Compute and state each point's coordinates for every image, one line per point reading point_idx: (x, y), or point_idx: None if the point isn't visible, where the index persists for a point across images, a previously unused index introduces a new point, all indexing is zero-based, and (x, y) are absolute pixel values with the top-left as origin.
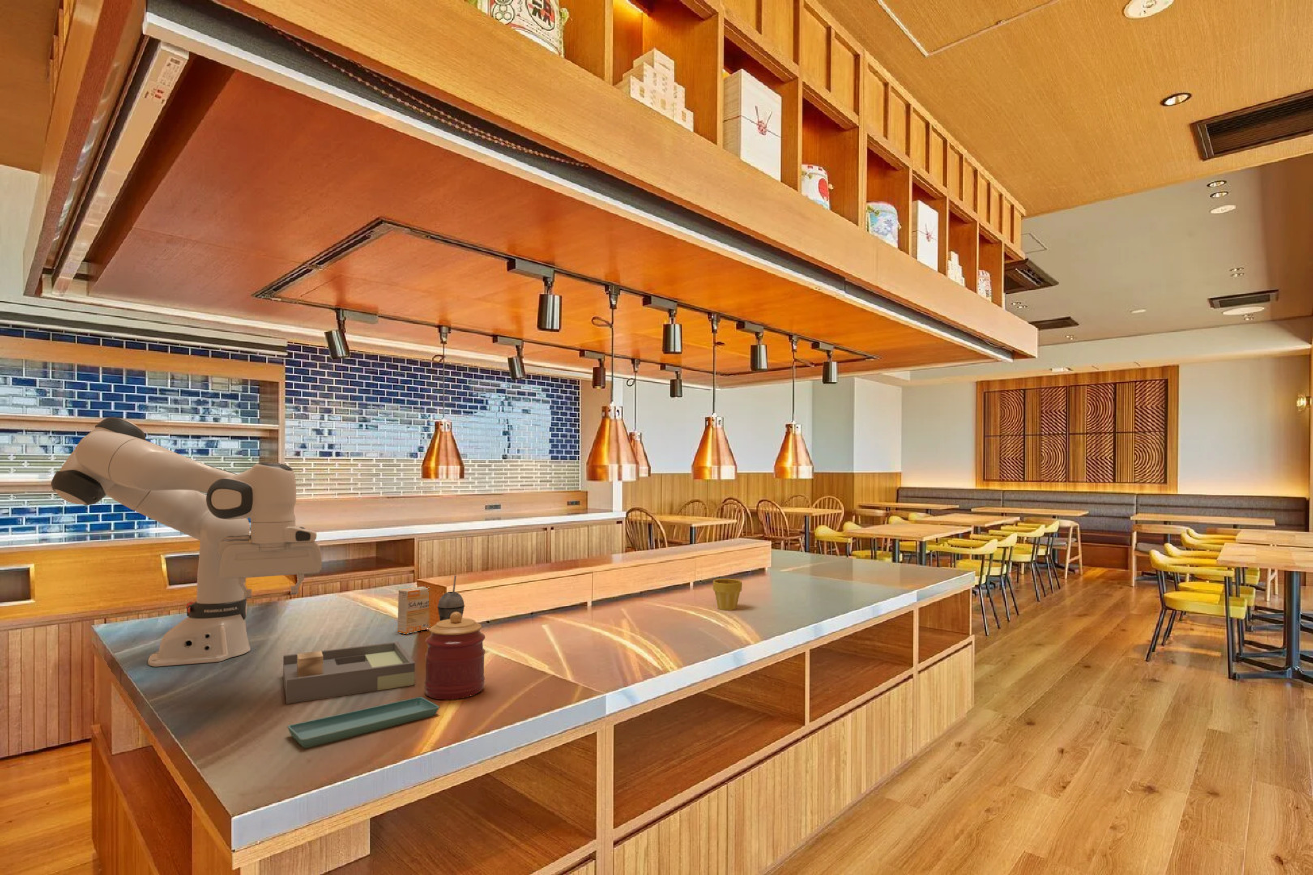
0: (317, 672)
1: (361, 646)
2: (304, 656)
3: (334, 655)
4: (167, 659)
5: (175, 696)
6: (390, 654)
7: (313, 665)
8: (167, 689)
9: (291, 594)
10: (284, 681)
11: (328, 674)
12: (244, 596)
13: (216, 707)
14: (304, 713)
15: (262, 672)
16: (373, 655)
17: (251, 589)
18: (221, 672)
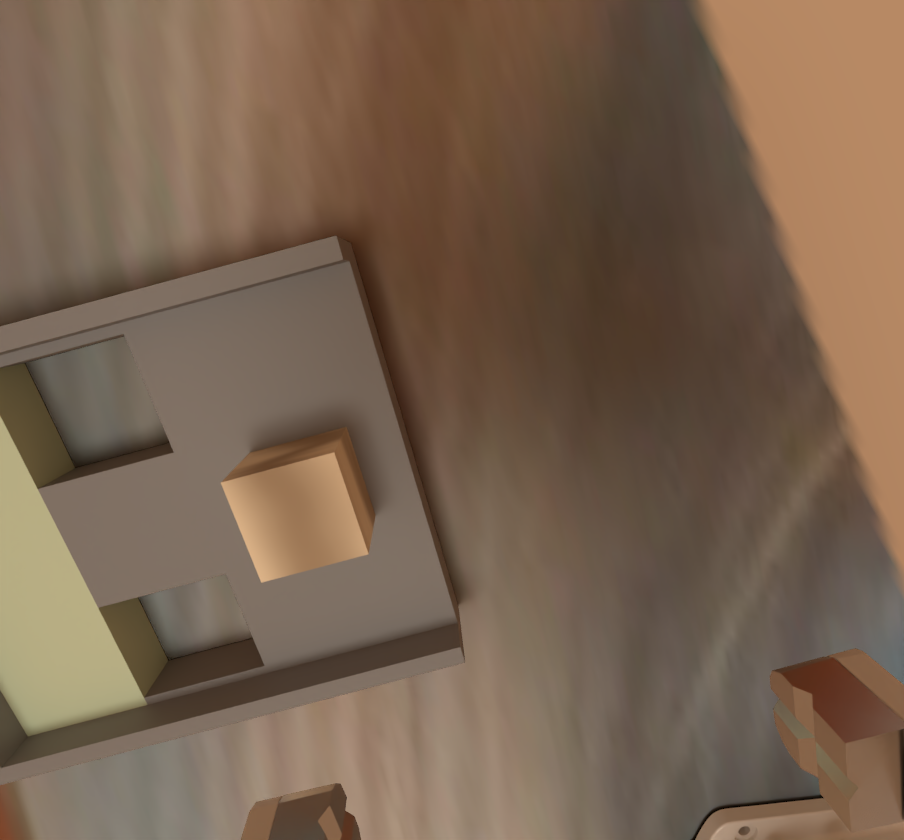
0: (267, 449)
1: (146, 738)
2: (318, 498)
3: (263, 683)
4: (883, 828)
5: (778, 453)
6: (26, 688)
7: (276, 457)
8: (819, 541)
9: (334, 785)
10: (419, 482)
11: (154, 287)
12: (862, 658)
13: (610, 278)
14: (240, 89)
15: (544, 670)
16: (102, 686)
17: (848, 801)
18: (684, 696)
